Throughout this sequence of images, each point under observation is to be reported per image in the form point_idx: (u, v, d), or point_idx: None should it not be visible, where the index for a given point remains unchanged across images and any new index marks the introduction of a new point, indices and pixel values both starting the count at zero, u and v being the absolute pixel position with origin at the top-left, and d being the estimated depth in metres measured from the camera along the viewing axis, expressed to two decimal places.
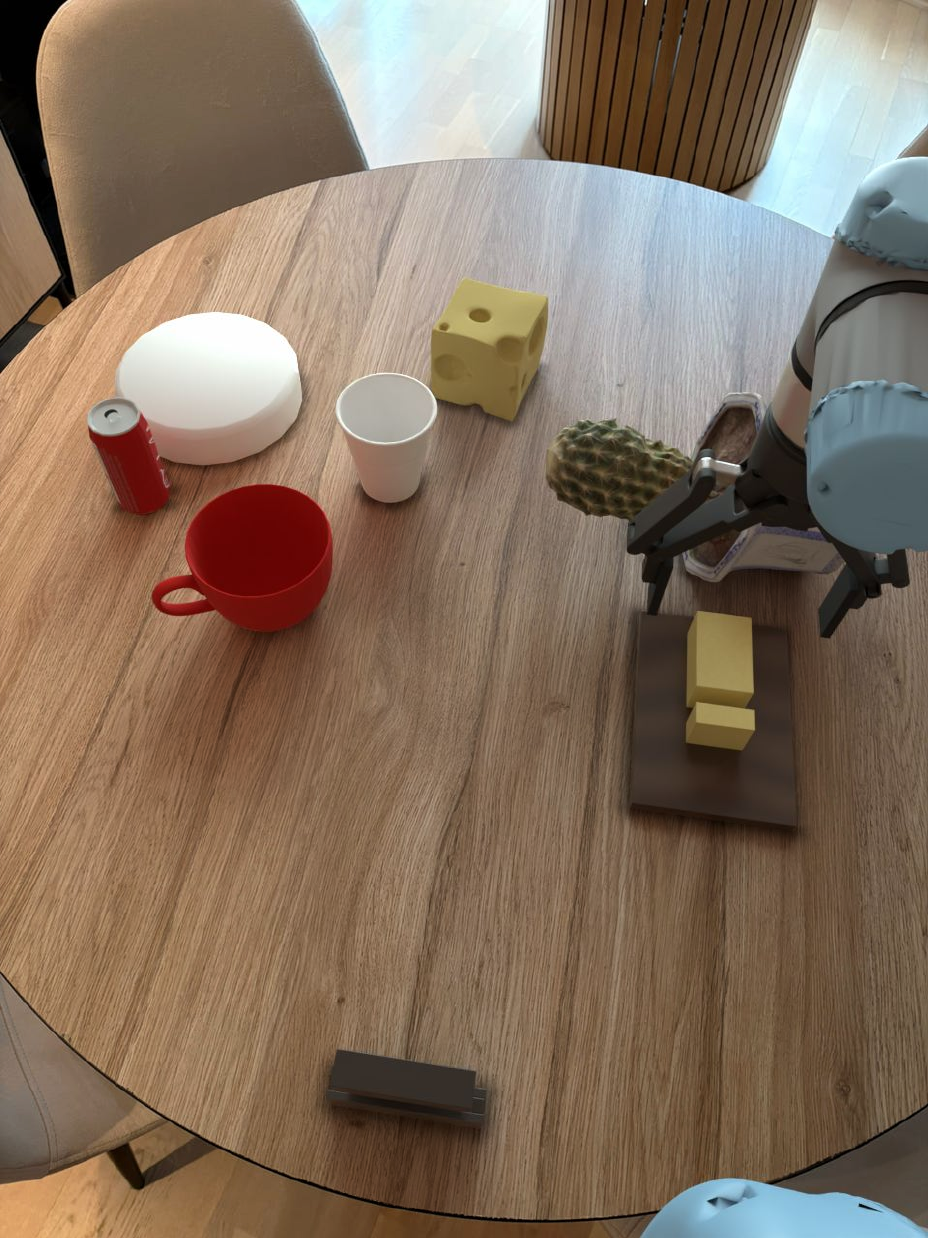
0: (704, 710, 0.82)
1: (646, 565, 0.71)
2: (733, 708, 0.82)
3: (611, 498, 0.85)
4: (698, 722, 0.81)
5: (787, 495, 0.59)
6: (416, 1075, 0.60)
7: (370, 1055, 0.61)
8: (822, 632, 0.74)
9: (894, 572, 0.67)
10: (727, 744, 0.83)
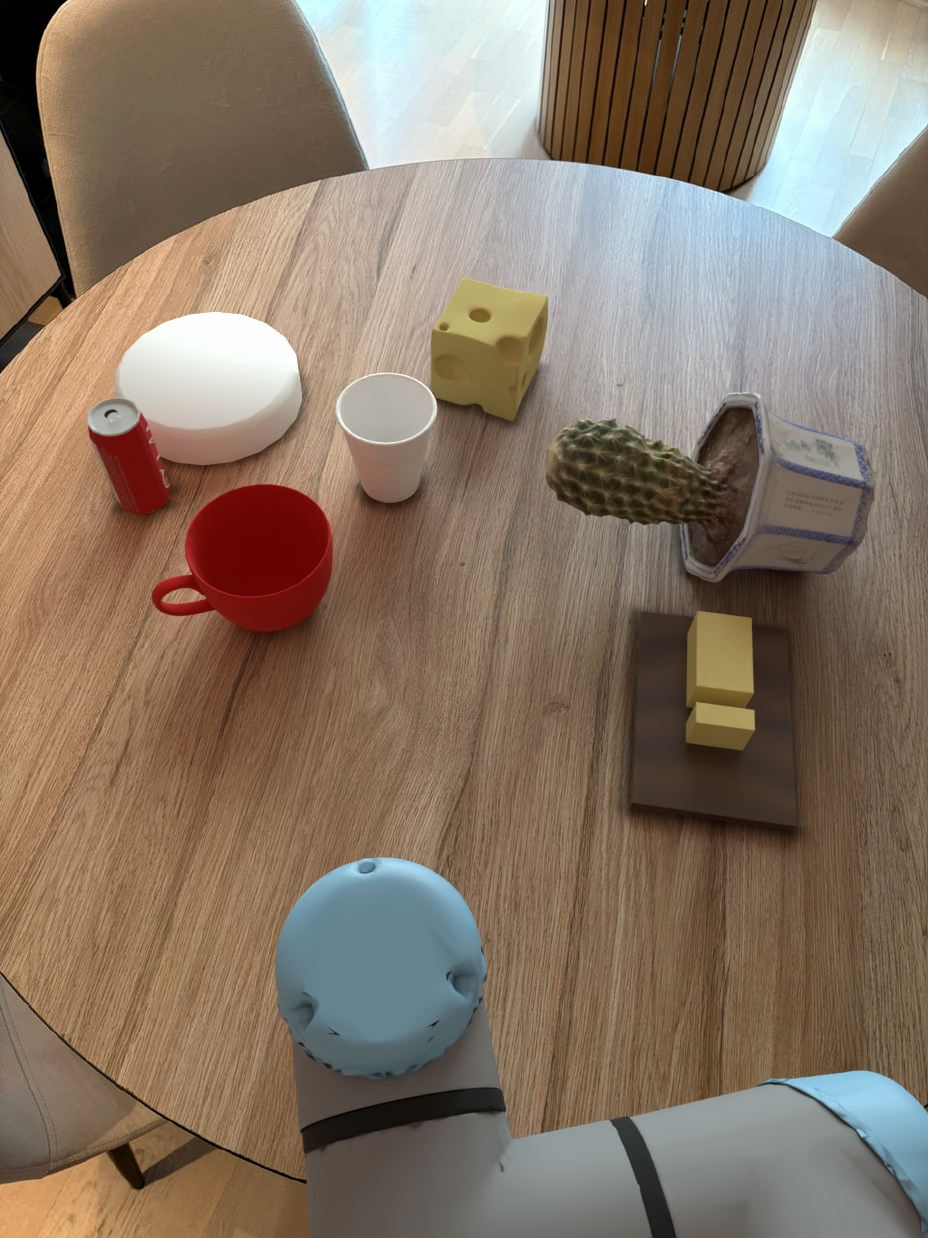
0: (704, 710, 0.82)
1: None
2: (733, 708, 0.82)
3: (611, 498, 0.85)
4: (698, 722, 0.81)
5: None
6: None
7: None
8: None
9: None
10: (727, 744, 0.83)
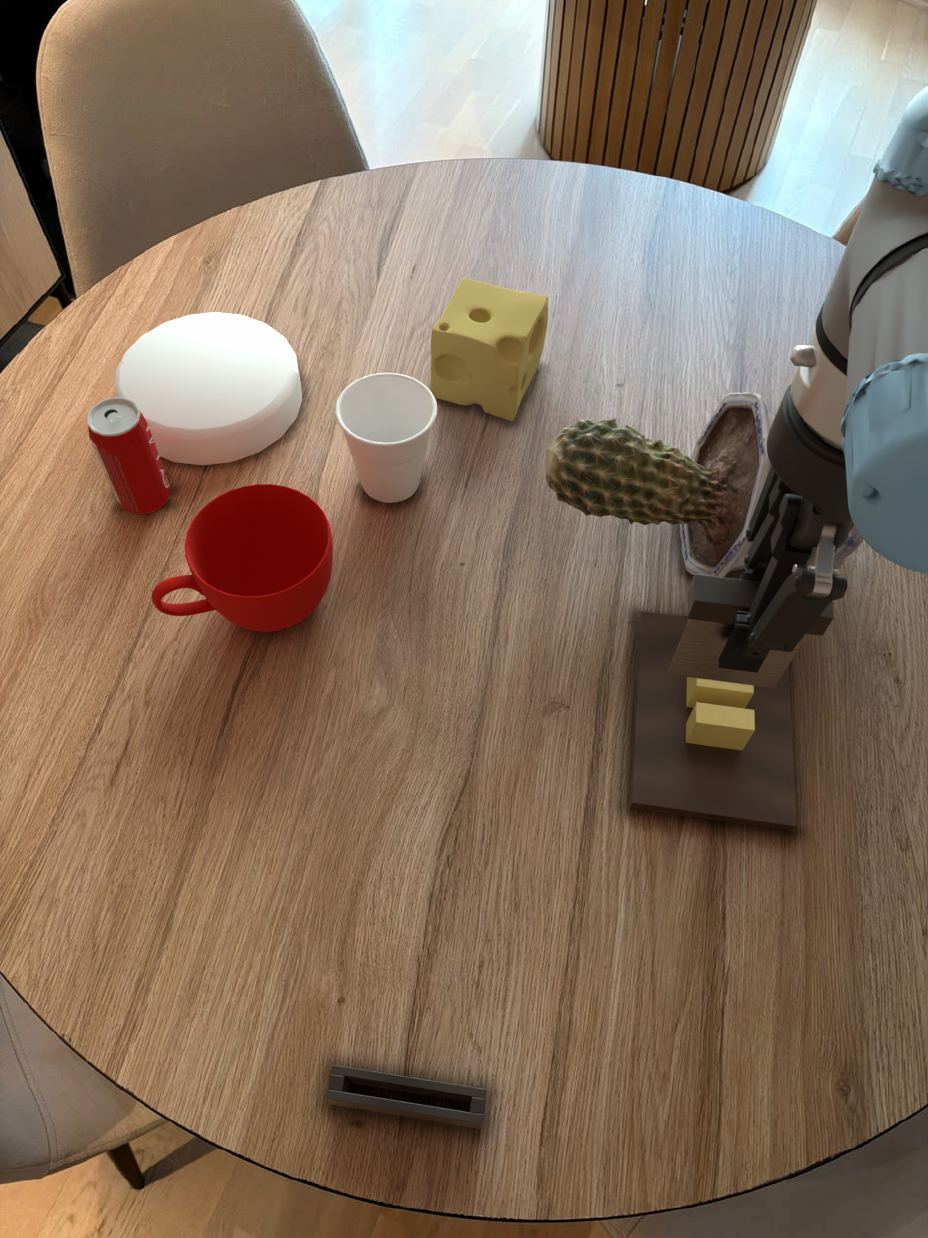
0: (704, 710, 0.82)
1: None
2: (733, 708, 0.82)
3: (611, 498, 0.85)
4: (698, 722, 0.81)
5: None
6: None
7: (727, 578, 0.63)
8: None
9: None
10: (727, 744, 0.83)
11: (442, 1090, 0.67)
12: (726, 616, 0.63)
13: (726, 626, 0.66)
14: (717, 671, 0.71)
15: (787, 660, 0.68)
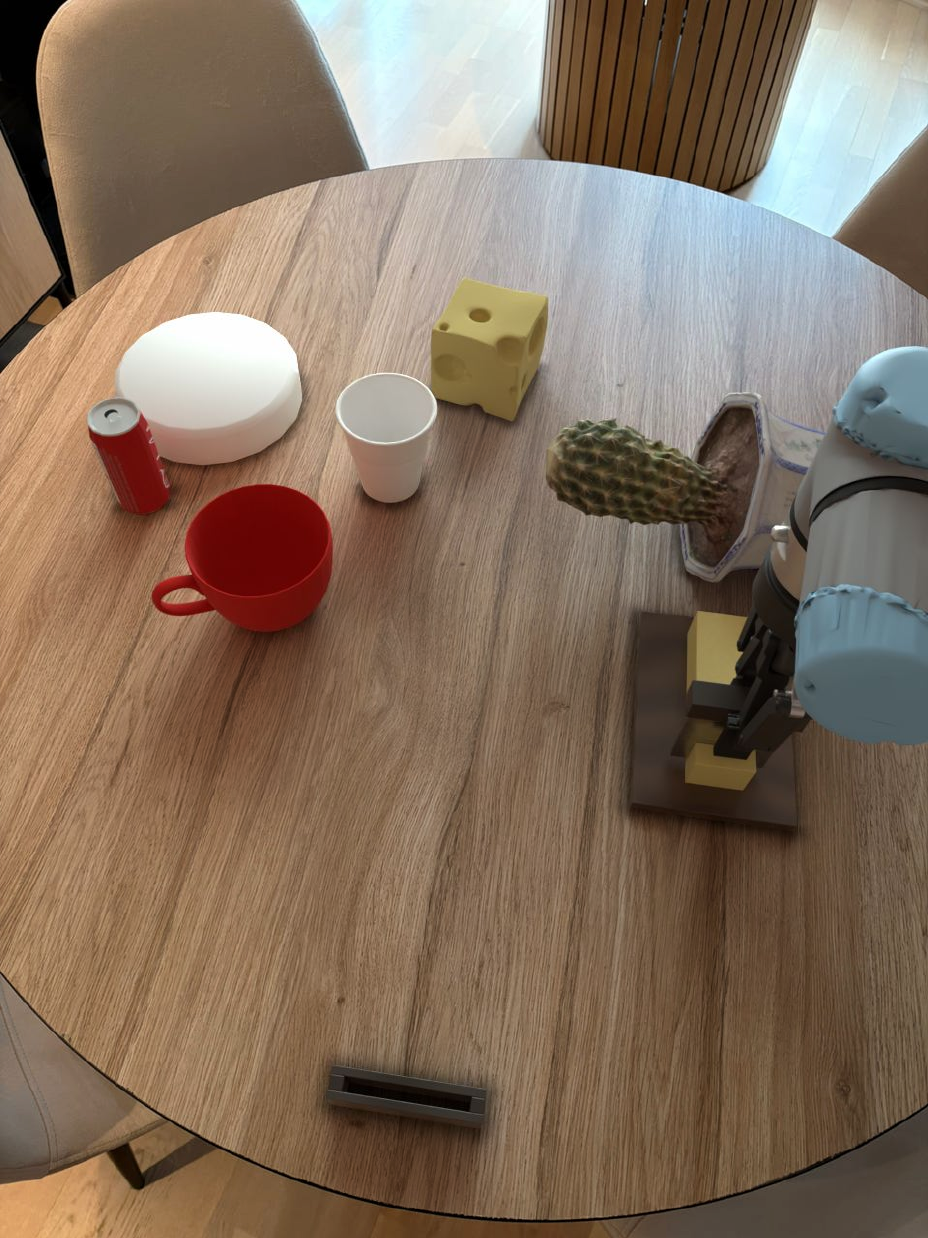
0: (704, 751, 0.79)
1: None
2: None
3: (611, 498, 0.85)
4: (698, 763, 0.79)
5: None
6: None
7: (721, 684, 0.74)
8: None
9: None
10: (728, 785, 0.81)
11: (442, 1090, 0.67)
12: (719, 716, 0.74)
13: (720, 721, 0.76)
14: None
15: None
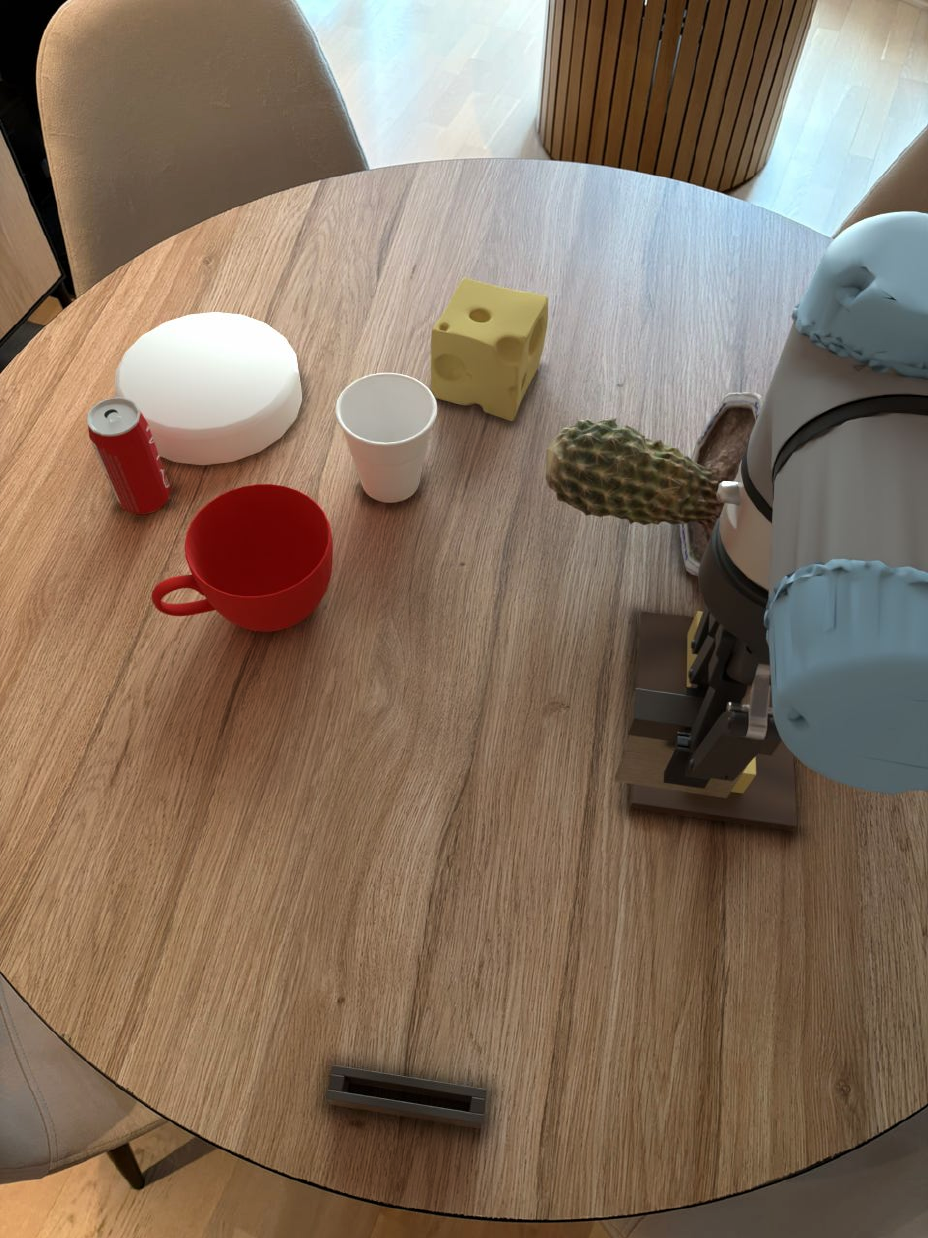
0: None
1: None
2: None
3: (611, 498, 0.85)
4: None
5: None
6: None
7: (670, 694, 0.59)
8: None
9: None
10: None
11: (442, 1090, 0.67)
12: (668, 734, 0.59)
13: (671, 740, 0.62)
14: None
15: None
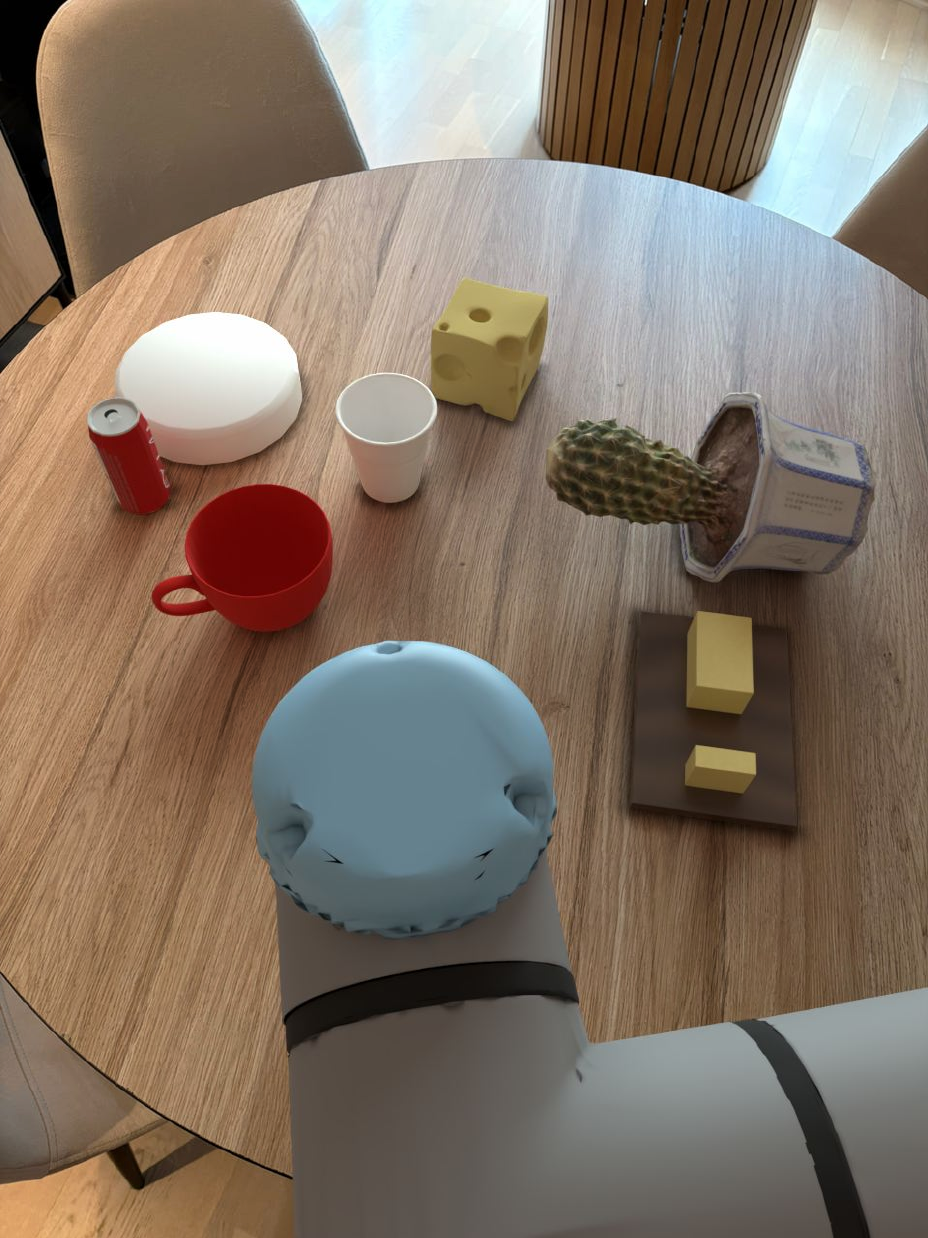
0: (704, 753, 0.79)
1: None
2: (734, 751, 0.80)
3: (611, 498, 0.85)
4: (698, 766, 0.79)
5: None
6: None
7: None
8: None
9: None
10: (728, 788, 0.81)
11: None
12: None
13: None
14: None
15: None
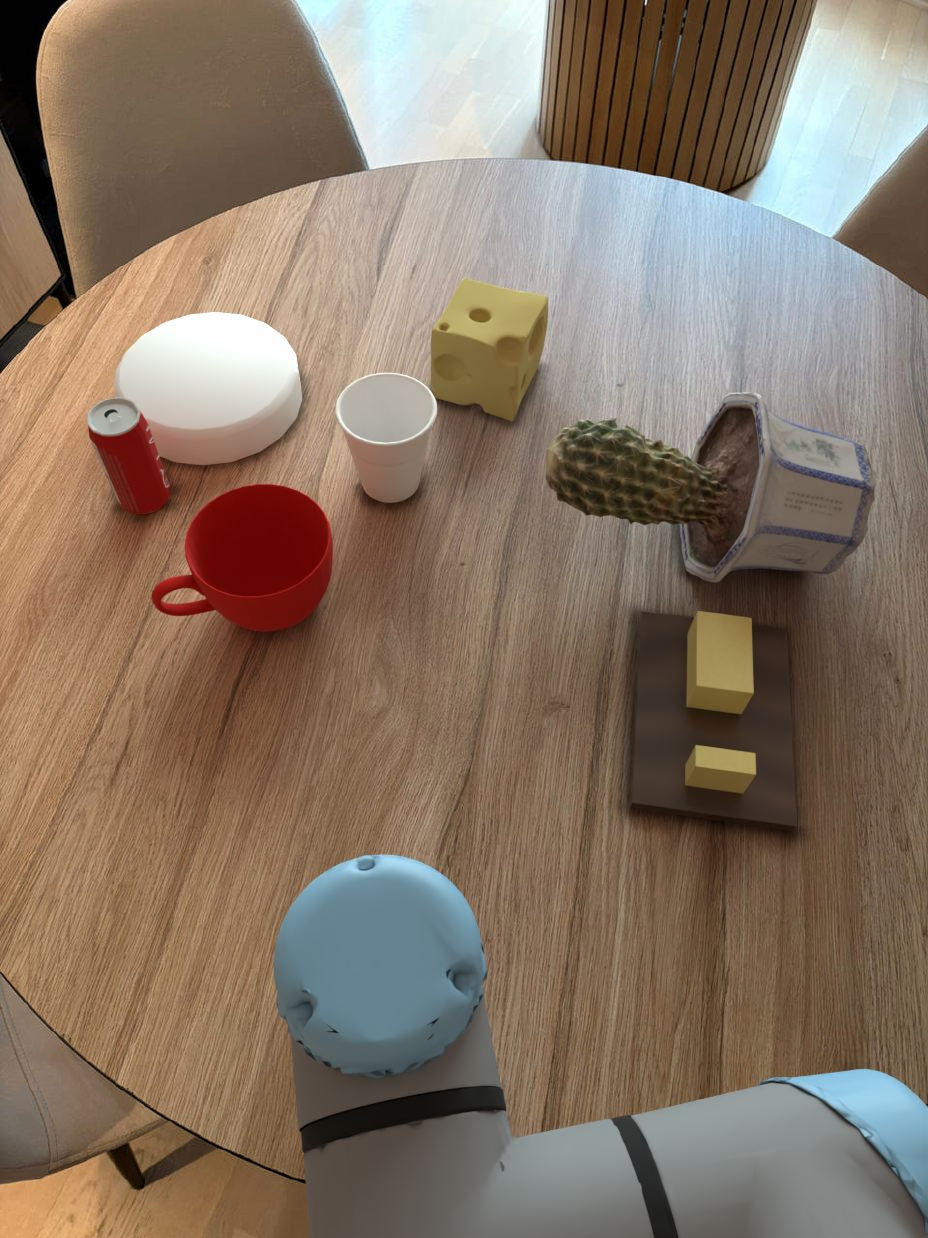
0: (704, 753, 0.79)
1: None
2: (734, 751, 0.80)
3: (611, 498, 0.85)
4: (698, 766, 0.79)
5: None
6: None
7: None
8: None
9: None
10: (728, 788, 0.81)
11: None
12: None
13: None
14: None
15: None
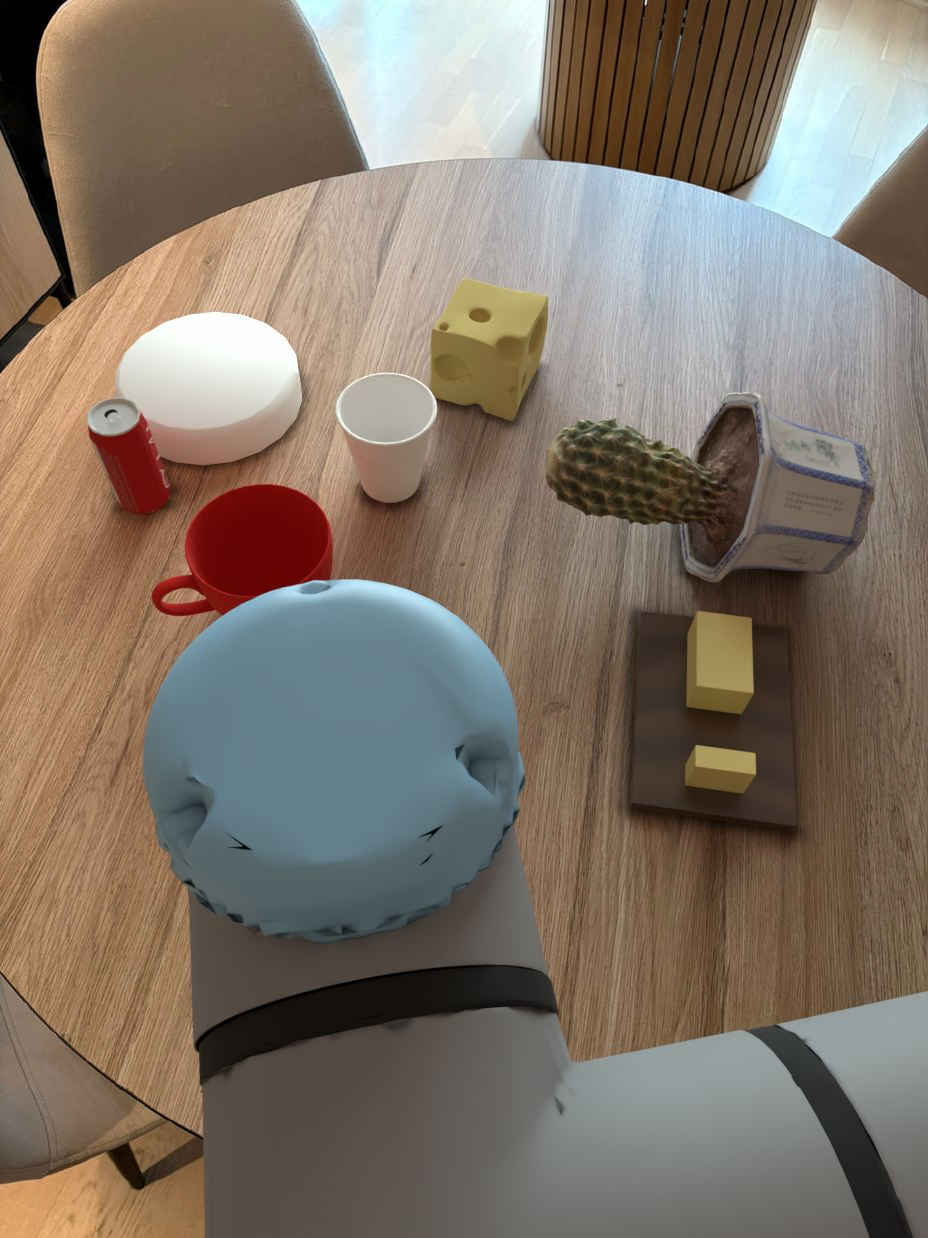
0: (704, 753, 0.79)
1: None
2: (734, 751, 0.80)
3: (611, 498, 0.85)
4: (698, 766, 0.79)
5: None
6: None
7: None
8: None
9: None
10: (728, 788, 0.81)
11: None
12: None
13: None
14: None
15: None
